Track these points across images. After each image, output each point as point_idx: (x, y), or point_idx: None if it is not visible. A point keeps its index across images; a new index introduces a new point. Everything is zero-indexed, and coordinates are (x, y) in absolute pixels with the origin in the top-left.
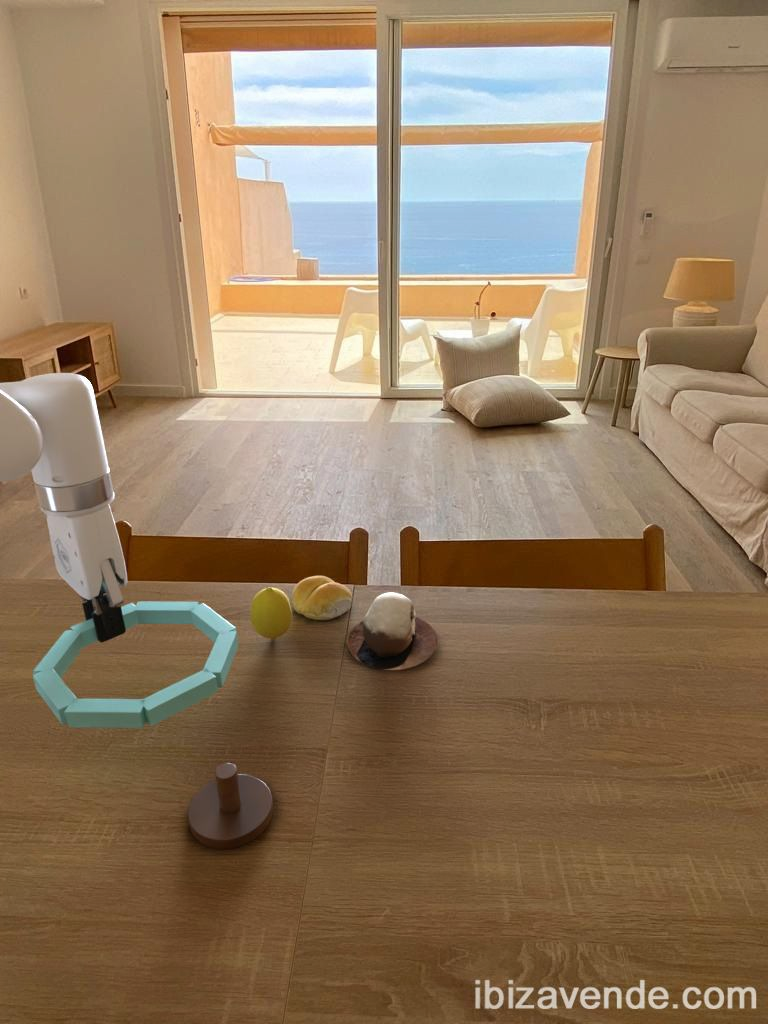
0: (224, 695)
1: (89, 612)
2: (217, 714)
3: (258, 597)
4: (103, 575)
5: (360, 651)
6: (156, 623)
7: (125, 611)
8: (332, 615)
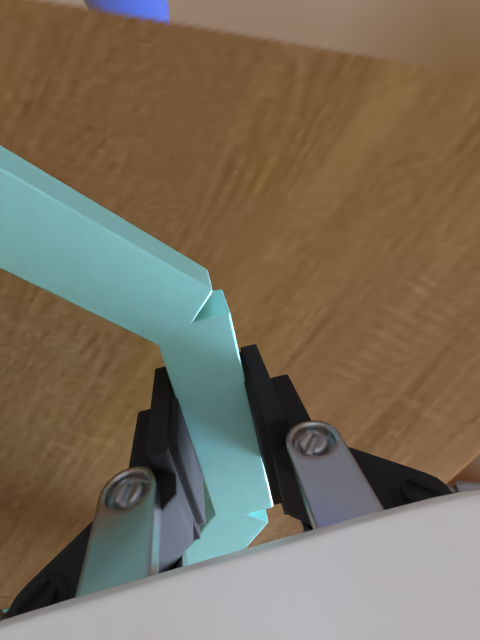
0: (67, 468)
1: (251, 408)
2: (11, 450)
3: None
4: None
5: None
6: None
7: (226, 489)
8: None
